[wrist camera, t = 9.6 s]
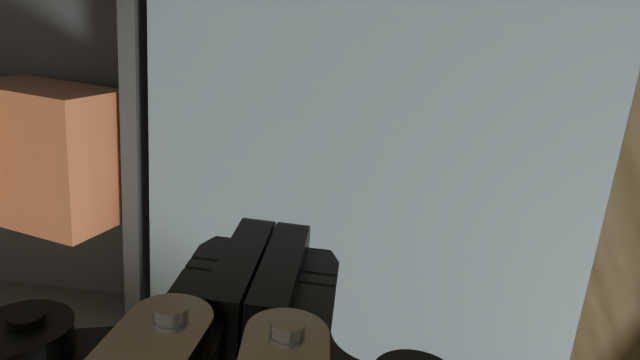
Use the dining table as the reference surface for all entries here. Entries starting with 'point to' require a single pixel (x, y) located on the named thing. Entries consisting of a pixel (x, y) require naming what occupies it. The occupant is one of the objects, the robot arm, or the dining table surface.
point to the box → (132, 81)
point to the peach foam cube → (59, 158)
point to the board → (400, 155)
